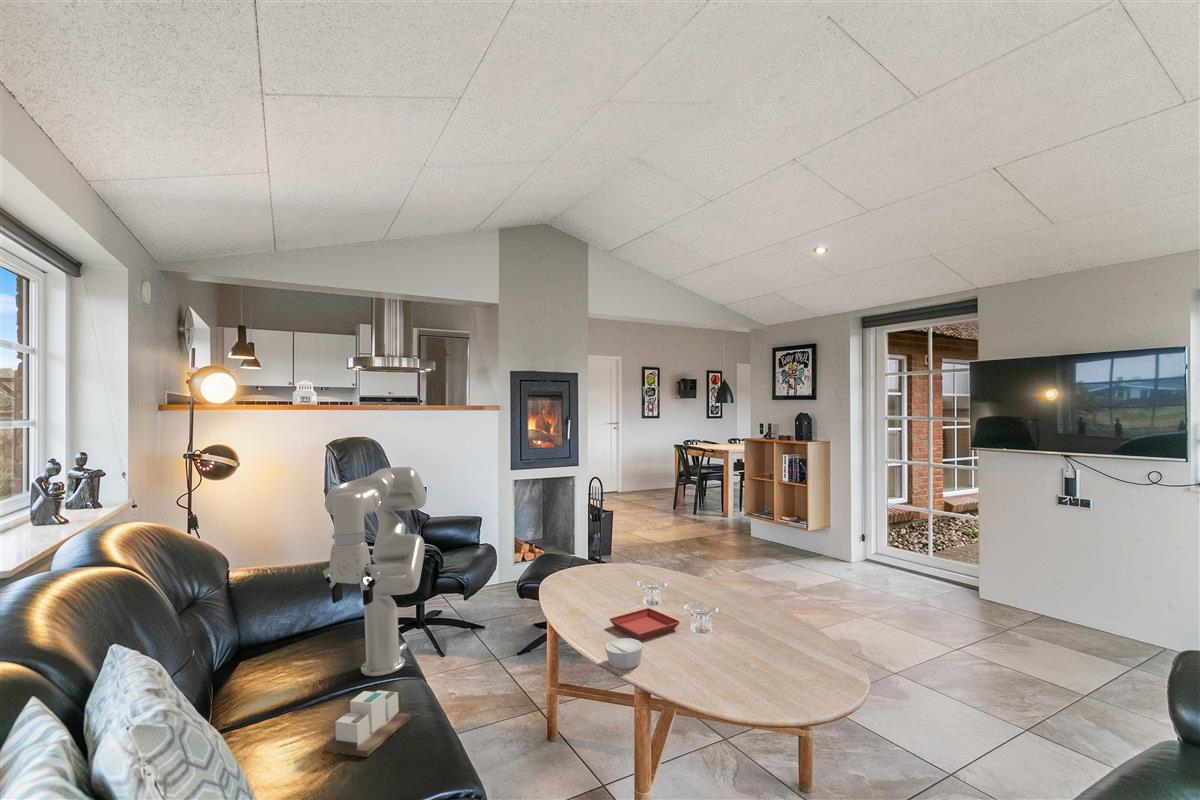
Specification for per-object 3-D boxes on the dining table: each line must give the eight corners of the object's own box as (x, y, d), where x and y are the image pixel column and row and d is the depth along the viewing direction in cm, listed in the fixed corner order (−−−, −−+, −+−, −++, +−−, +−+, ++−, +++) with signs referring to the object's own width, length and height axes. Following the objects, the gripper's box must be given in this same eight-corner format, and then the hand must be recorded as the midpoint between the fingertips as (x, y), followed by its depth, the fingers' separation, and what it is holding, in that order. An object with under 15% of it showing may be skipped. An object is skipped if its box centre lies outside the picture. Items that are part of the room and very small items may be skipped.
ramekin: (600, 668, 168) (599, 650, 168) (613, 653, 178) (612, 636, 178) (636, 673, 164) (635, 655, 164) (647, 657, 174) (647, 639, 174)
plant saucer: (649, 616, 210) (648, 607, 210) (681, 630, 194) (681, 620, 194) (608, 628, 200) (608, 618, 200) (639, 644, 185) (638, 634, 185)
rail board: (370, 715, 147) (369, 704, 147) (410, 720, 144) (410, 709, 144) (324, 751, 132) (323, 739, 132) (367, 758, 128) (367, 745, 128)
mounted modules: (378, 709, 146) (377, 689, 146) (398, 711, 144) (397, 691, 144) (336, 742, 131) (335, 720, 131) (357, 745, 130) (357, 723, 130)
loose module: (365, 719, 141) (364, 690, 141) (385, 722, 139) (384, 692, 139) (351, 730, 136) (350, 700, 136) (372, 733, 134) (371, 702, 135)
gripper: (312, 541, 151) (315, 605, 151) (368, 543, 146) (371, 609, 146) (332, 534, 158) (335, 595, 158) (386, 535, 153) (389, 599, 153)
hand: (352, 602), depth 152 cm, fingers open, 9 cm apart
